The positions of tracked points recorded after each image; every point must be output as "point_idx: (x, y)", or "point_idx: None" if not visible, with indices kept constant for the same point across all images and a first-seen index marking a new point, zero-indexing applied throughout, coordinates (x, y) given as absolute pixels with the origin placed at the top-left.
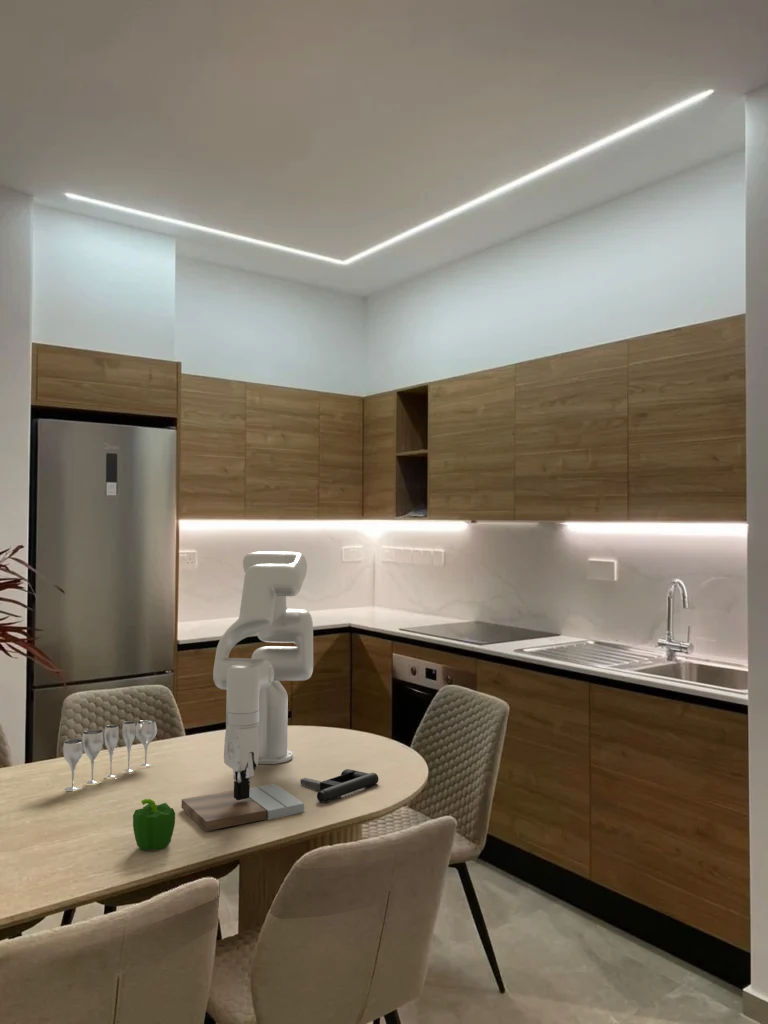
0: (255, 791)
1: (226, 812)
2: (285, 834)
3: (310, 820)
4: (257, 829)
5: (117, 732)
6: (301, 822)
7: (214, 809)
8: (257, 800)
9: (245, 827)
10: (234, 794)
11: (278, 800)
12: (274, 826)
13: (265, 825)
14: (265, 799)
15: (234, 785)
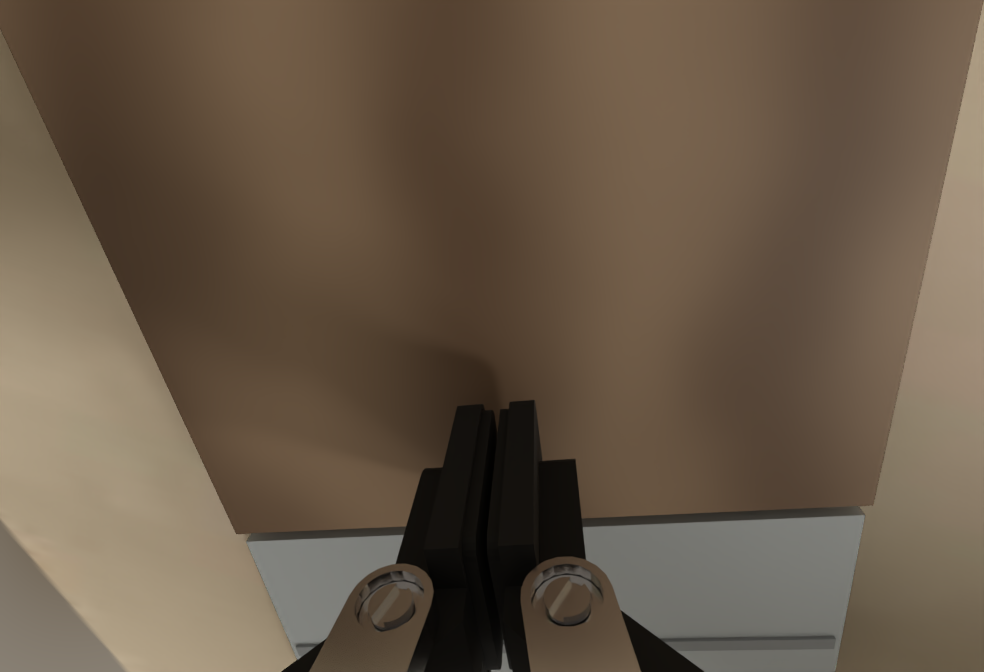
0: (739, 598)
1: (232, 223)
2: (9, 499)
3: (211, 659)
4: (111, 382)
5: None
6: (190, 619)
7: (354, 113)
8: None
9: None
10: (514, 423)
11: None
12: (151, 488)
13: (179, 448)
14: None
15: (512, 498)
